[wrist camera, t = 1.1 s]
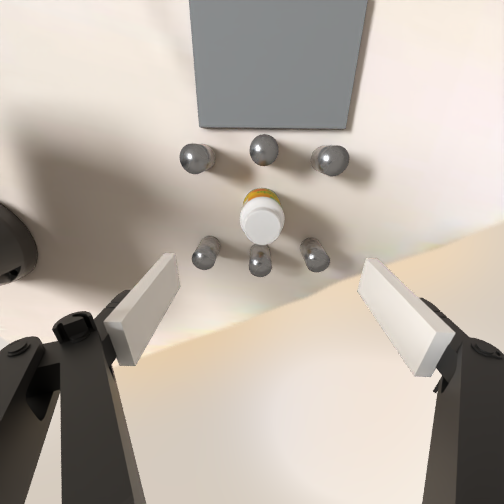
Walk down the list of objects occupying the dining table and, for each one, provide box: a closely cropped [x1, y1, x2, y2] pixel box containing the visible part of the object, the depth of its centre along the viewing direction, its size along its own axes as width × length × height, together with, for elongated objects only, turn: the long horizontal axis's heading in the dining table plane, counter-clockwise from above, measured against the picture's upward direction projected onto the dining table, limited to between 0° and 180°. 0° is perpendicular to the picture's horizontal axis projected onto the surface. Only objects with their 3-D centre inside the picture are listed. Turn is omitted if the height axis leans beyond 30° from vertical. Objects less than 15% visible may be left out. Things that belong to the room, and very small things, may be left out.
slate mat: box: [189, 0, 368, 129], centre depth 25 cm, size 18×12×1 cm, turn 89°
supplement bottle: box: [240, 188, 284, 245], centre depth 28 cm, size 5×5×10 cm
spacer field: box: [180, 134, 349, 277], centre depth 30 cm, size 19×18×5 cm
